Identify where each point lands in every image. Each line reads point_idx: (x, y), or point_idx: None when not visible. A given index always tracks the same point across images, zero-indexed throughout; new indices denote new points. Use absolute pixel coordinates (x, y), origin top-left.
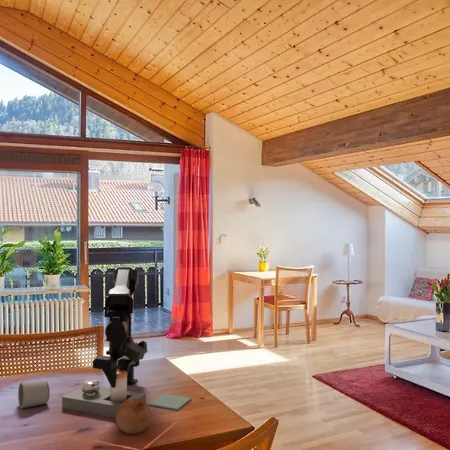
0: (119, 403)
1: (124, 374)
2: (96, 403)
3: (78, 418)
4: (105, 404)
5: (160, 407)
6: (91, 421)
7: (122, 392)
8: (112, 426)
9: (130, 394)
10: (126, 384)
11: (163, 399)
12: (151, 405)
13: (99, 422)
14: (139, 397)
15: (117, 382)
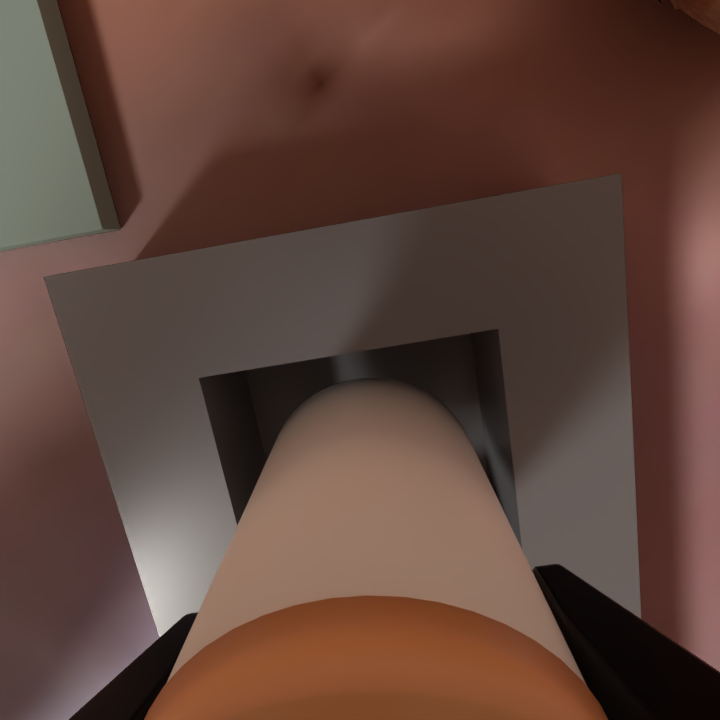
0: (532, 337)
1: (400, 676)
2: (634, 579)
3: (684, 587)
4: (631, 468)
5: (62, 59)
6: (693, 455)
7: (419, 429)
8: (713, 203)
9: (194, 437)
10: (296, 488)
11: None
12: (96, 186)
13: (682, 380)
14: (201, 256)
15: (542, 602)
